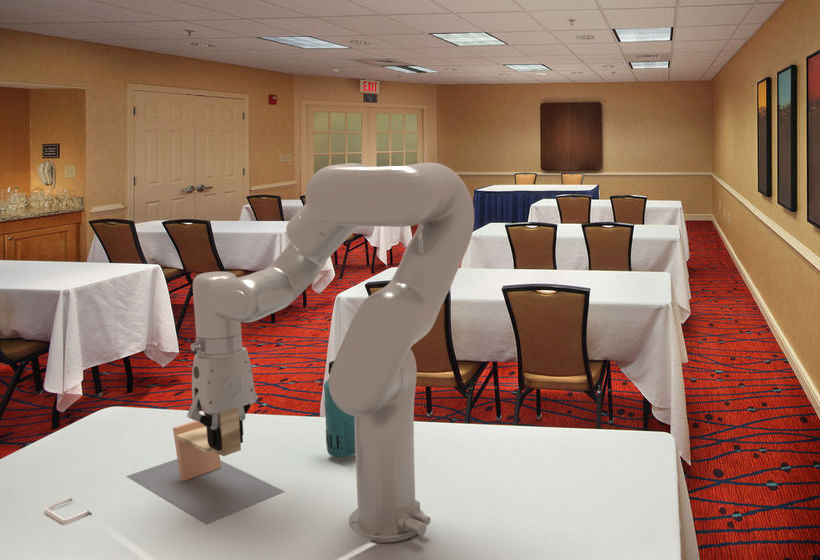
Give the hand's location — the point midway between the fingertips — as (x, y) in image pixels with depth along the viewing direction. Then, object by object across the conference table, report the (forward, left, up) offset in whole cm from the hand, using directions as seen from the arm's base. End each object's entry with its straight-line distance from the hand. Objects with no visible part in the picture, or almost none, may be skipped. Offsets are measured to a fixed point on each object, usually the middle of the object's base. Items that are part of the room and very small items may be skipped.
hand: (226, 443), depth 139 cm
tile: (+11, -1, -9) cm, 15 cm away
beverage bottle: (-2, -25, -11) cm, 27 cm away
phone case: (+17, +17, -11) cm, 26 cm away
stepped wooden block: (+5, 0, -1) cm, 5 cm away
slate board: (+7, +1, -10) cm, 13 cm away
